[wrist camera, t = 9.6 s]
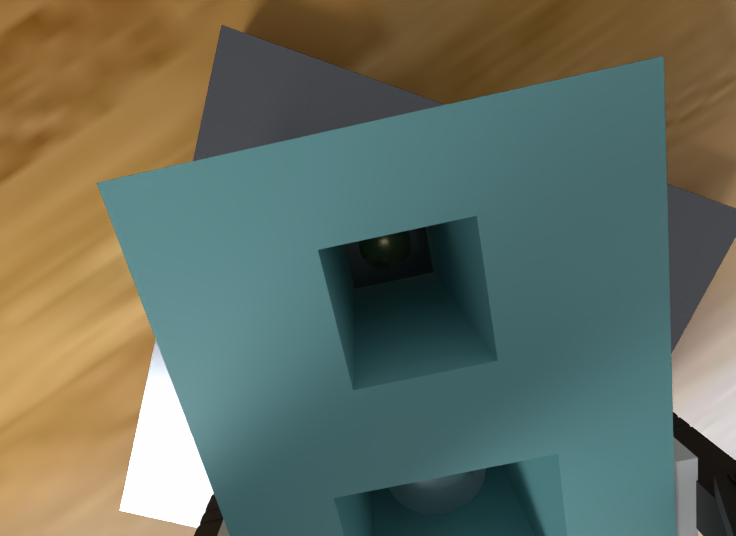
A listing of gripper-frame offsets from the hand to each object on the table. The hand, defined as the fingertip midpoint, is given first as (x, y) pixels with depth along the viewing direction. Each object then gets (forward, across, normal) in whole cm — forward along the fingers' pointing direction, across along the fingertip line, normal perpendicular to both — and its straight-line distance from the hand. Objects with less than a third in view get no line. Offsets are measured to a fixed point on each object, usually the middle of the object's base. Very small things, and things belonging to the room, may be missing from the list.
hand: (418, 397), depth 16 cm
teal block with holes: (0, 0, 0) cm, 0 cm away
